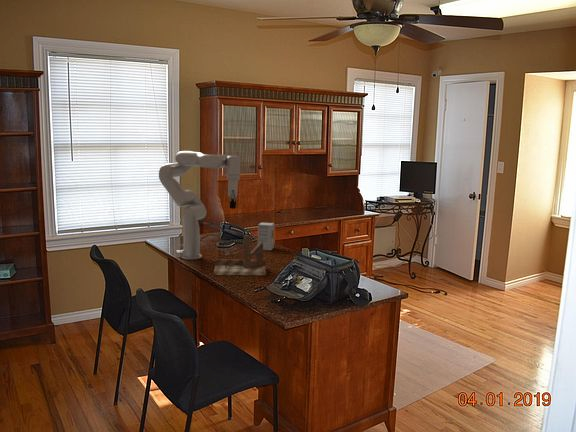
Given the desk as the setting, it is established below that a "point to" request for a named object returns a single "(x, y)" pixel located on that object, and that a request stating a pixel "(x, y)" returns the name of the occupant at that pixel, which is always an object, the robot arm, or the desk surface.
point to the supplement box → (266, 235)
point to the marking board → (236, 268)
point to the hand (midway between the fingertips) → (232, 207)
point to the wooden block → (256, 251)
